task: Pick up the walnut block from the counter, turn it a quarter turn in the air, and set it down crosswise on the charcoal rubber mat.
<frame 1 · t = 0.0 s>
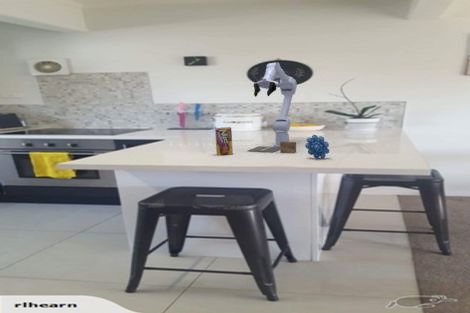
hand: (261, 95, 179), 32 cm above the countertop, tool tilted 50°, fingers open, 7 cm apart
mat: (265, 149, 198), on the countertop
candy box: (224, 154, 188), on the countertop
walnut block: (288, 152, 186), on the countertop
blue knobbed wheel: (317, 159, 165), on the countertop
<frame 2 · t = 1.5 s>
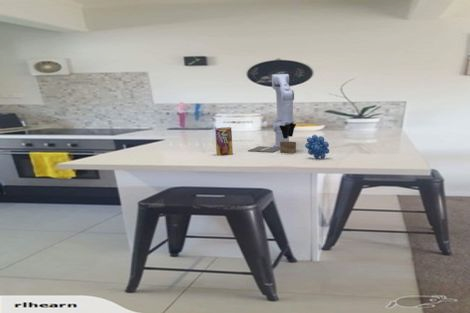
hand: (288, 137, 184), 8 cm above the countertop, tool pointing down, fingers open, 7 cm apart
nothing on the countertop moved.
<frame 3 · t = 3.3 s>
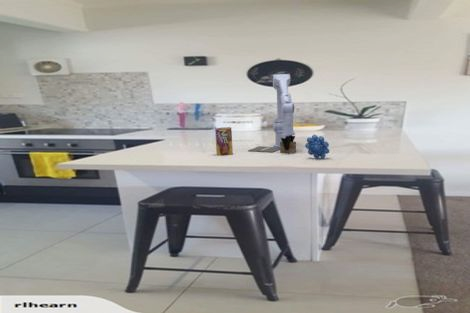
hand: (288, 149, 185), 2 cm above the countertop, tool pointing down, fingers closed on walnut block, 4 cm apart
walnut block: (288, 152, 186), on the countertop, touching gripper
everything else where it was.
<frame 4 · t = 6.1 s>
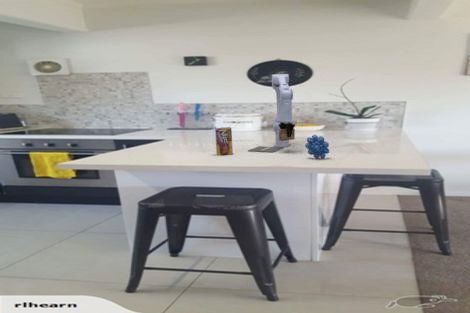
hand: (286, 136, 185), 9 cm above the countertop, tool pointing down, fingers closed on walnut block, 4 cm apart
walnut block: (286, 139, 185), point 7 cm above the countertop, touching gripper
everything else where it was.
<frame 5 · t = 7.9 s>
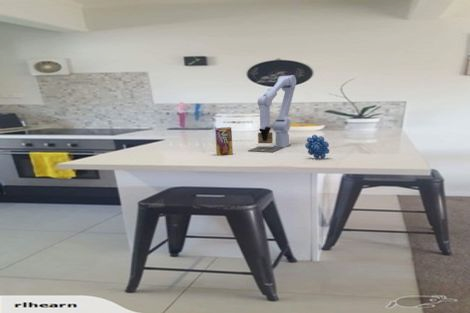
hand: (265, 140, 197), 6 cm above the countertop, tool pointing down, fingers closed on walnut block, 4 cm apart
walnut block: (265, 142, 197), point 4 cm above the countertop, touching gripper
everything else where it was.
when the fingers open (4 cm above the countertop, at t = 9.1 s): walnut block drops 1 cm, resting on mat.
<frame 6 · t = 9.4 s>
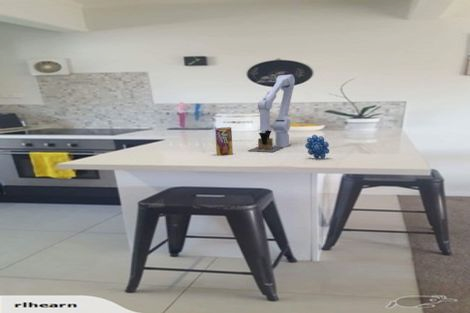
hand: (265, 143, 197), 4 cm above the countertop, tool pointing down, fingers open, 6 cm apart
walnut block: (265, 148, 198), point 1 cm above the countertop, touching mat
everything else where it was.
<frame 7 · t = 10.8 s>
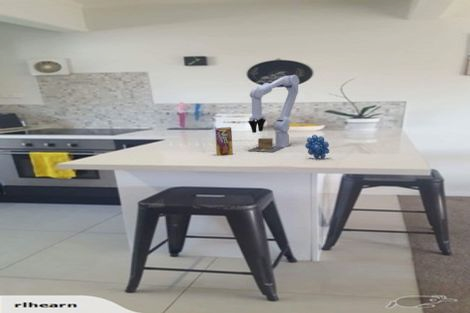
hand: (257, 132, 199), 10 cm above the countertop, tool pointing down, fingers open, 7 cm apart
nothing on the countertop moved.
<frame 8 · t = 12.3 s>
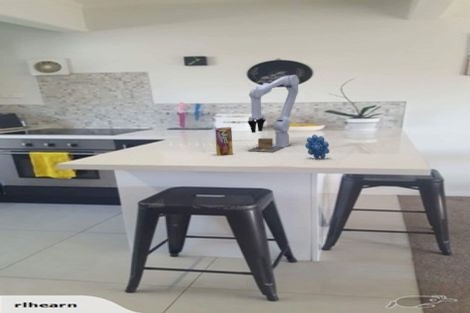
hand: (256, 131, 200), 10 cm above the countertop, tool pointing down, fingers open, 7 cm apart
nothing on the countertop moved.
at the end: walnut block inside the target area on the mat (0.1 cm from its centre), point 0.6 cm above the mat's base; walnut block touching mat; walnut block tilted 0° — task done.
